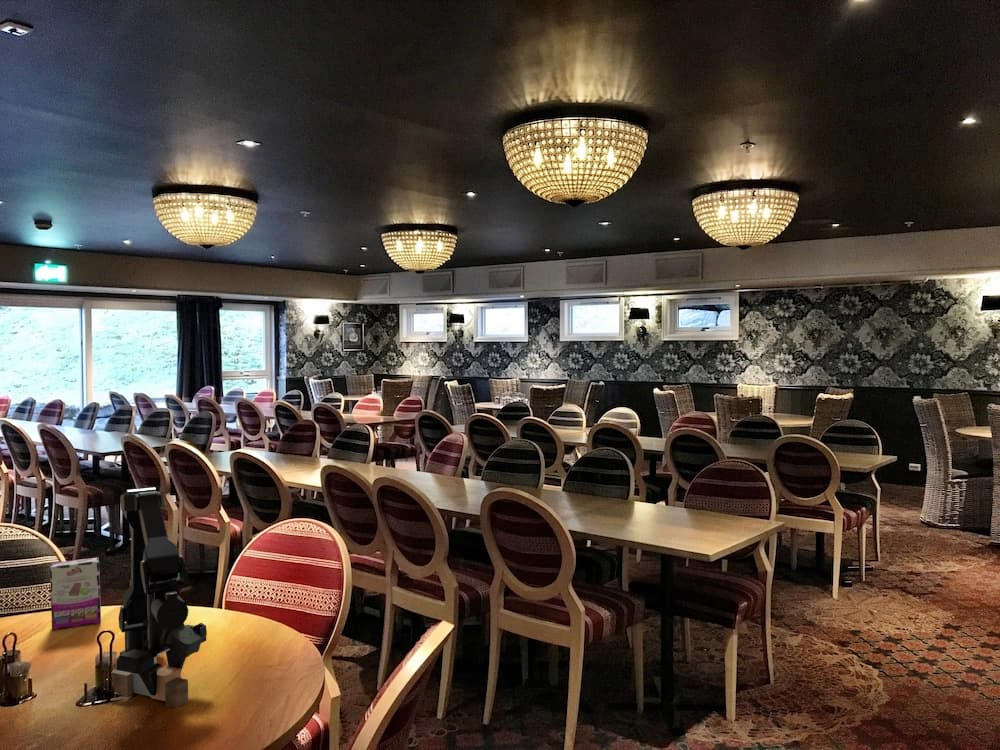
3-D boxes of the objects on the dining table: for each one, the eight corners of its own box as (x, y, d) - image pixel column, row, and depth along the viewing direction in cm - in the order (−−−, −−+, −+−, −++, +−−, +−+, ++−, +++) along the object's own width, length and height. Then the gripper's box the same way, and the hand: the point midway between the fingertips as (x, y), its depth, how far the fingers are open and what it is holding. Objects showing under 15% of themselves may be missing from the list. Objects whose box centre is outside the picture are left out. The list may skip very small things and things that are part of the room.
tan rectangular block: (150, 697, 156) (150, 673, 156) (166, 689, 160) (165, 665, 160) (166, 701, 155) (165, 676, 155) (181, 692, 159) (180, 668, 158)
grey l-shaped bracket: (120, 689, 161) (120, 671, 161) (146, 677, 167) (145, 658, 167) (155, 697, 158) (155, 678, 157) (180, 684, 164) (180, 665, 164)
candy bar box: (100, 617, 205) (99, 556, 204) (101, 623, 200) (99, 561, 200) (52, 624, 200) (50, 561, 199) (51, 631, 195) (49, 566, 194)
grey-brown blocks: (102, 691, 161) (101, 670, 161) (114, 685, 164) (113, 664, 164) (177, 707, 154) (176, 685, 154) (188, 701, 156) (187, 679, 156)
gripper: (157, 635, 145) (159, 716, 146) (226, 604, 163) (227, 677, 163) (113, 627, 149) (114, 706, 150) (185, 597, 167) (186, 669, 167)
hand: (164, 689), depth 158 cm, fingers open, 5 cm apart
